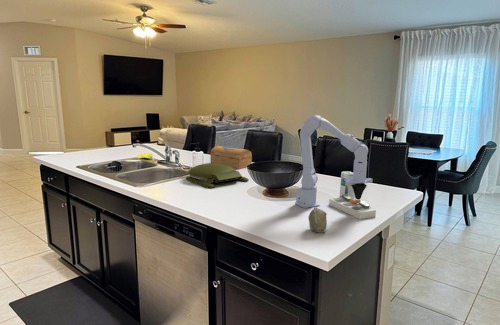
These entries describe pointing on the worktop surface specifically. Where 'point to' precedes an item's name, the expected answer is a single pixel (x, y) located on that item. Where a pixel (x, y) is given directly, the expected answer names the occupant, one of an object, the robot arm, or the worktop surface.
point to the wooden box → (231, 157)
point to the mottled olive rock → (317, 220)
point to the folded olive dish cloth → (213, 174)
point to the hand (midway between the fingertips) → (357, 198)
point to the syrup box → (344, 188)
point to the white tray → (352, 208)
